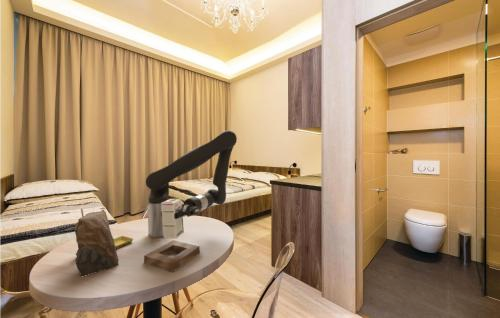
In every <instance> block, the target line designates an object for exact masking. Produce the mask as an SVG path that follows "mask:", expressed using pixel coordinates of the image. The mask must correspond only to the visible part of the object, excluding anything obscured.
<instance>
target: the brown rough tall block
mask: <svg viewBox="0 0 500 318" xmlns="http://www.w3.org/2000/svg"><path fill="white" fill-rule="evenodd" d="M107 215H108V214H107V212H106V210H105V209H102V210H100V211H95V212H94V211H93V212H88V213H86V214H85V215H84V216H83V217H82V216H81V217H80V218H78V219H77V220H78V221H79V224H78V226H77V230H76V234H75V238H76V239H75V240H76V244H77V248H78V249H77V251H76V253H75V255H76V258H75V260H74V261H75V266H76V268H77V270H78V271H79V273H80V277H81V276H84V277H86V276H85V275H87V276H89V275H88V274H90V275H92V274H91V273H93V274H95V273H94V272H97V273H99V272H101V271H100V270H102V271H104V269H105V270H109V269H112V268H114V267H117V266H119V256H118V254H117V248H116V247H115V244H114V240H113V239H114V237H113V235H112V231H111V228H110V223H109V218H108V216H107ZM78 221H77V222H78ZM111 267H112V268H111ZM98 271H99V272H98Z"/></svg>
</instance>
